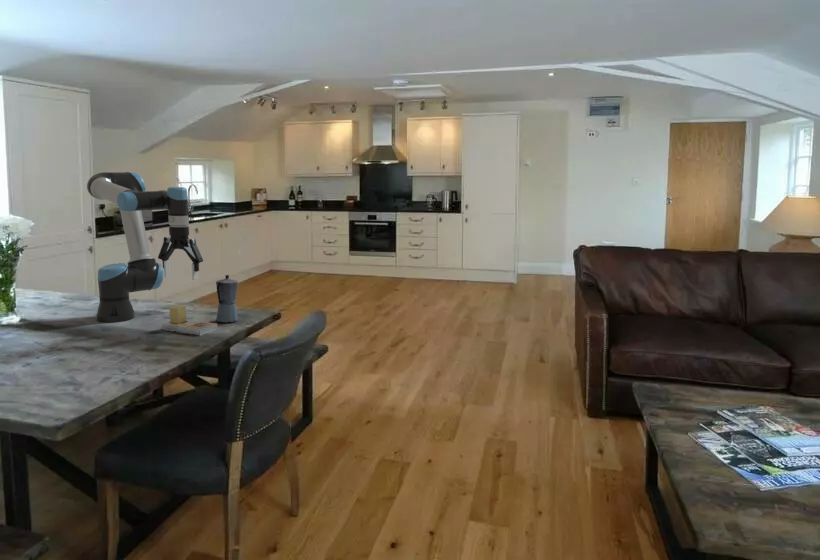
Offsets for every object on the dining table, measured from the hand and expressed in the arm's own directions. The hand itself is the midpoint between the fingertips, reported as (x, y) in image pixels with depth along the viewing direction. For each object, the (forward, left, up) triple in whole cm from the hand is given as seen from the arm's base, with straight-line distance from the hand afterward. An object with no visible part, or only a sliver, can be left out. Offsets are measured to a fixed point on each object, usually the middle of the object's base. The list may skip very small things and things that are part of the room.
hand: (181, 277), depth 254 cm
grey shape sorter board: (+5, -2, -21) cm, 21 cm away
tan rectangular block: (-1, -2, -21) cm, 21 cm away
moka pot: (+9, +16, -21) cm, 28 cm away
